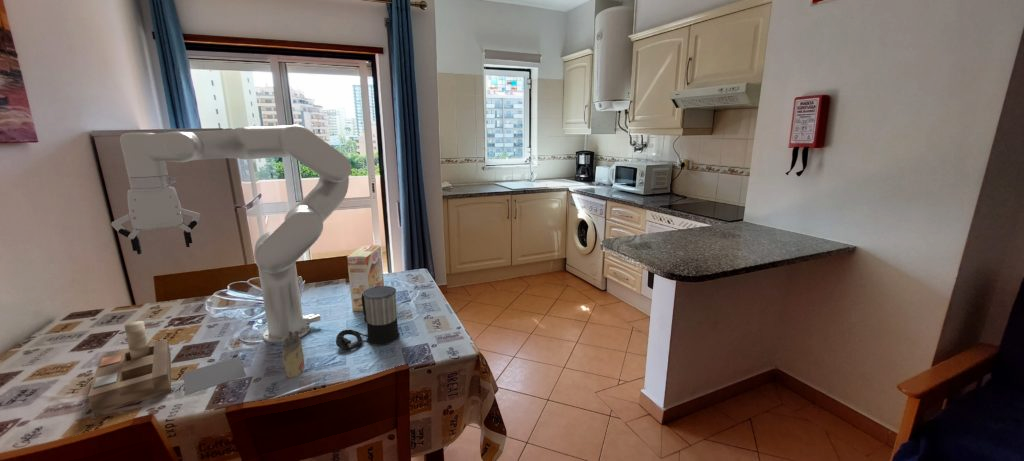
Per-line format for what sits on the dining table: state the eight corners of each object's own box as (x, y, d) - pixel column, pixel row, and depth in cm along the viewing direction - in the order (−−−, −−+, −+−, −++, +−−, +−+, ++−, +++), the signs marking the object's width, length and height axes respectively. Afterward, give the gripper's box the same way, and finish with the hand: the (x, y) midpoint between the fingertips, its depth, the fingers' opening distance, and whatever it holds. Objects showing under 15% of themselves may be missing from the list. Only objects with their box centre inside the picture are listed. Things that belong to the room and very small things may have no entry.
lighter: (299, 377, 101) (294, 341, 99) (282, 380, 100) (277, 343, 98) (306, 362, 108) (301, 328, 106) (290, 364, 107) (285, 329, 105)
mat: (239, 357, 111) (239, 356, 111) (246, 377, 102) (246, 375, 102) (183, 374, 103) (183, 372, 103) (185, 396, 94) (185, 395, 94)
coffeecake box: (372, 311, 139) (366, 256, 135) (351, 311, 139) (345, 256, 135) (386, 294, 154) (381, 244, 149) (367, 294, 154) (362, 244, 150)
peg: (152, 362, 107) (143, 319, 105) (152, 368, 104) (143, 324, 102) (133, 367, 105) (124, 323, 103) (133, 373, 102) (123, 328, 100)
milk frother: (406, 334, 123) (402, 288, 119) (367, 360, 109) (362, 308, 106) (370, 325, 129) (366, 281, 125) (329, 349, 115) (323, 299, 112)
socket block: (170, 355, 112) (167, 337, 111) (171, 392, 96) (166, 372, 95) (105, 372, 104) (100, 354, 103) (93, 416, 88) (87, 395, 87)
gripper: (193, 179, 110) (204, 241, 114) (103, 185, 99) (120, 253, 103) (194, 181, 104) (206, 246, 108) (100, 188, 93) (117, 259, 97)
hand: (164, 249), depth 105 cm, fingers open, 9 cm apart
